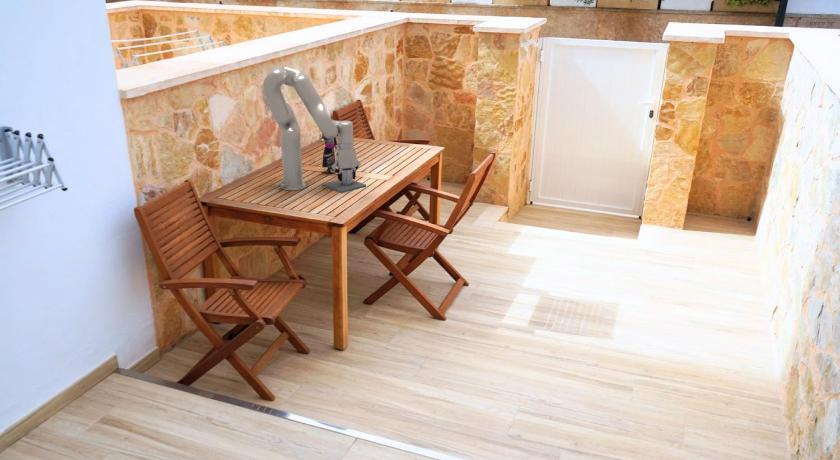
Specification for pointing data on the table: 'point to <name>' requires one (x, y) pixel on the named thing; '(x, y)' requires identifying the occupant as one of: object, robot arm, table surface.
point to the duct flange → (343, 186)
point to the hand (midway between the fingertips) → (346, 179)
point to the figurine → (329, 153)
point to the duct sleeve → (347, 175)
